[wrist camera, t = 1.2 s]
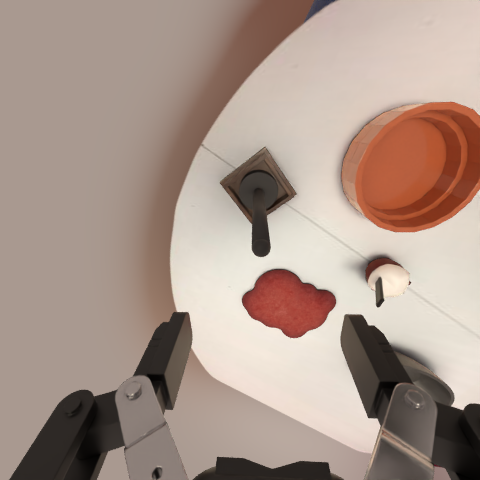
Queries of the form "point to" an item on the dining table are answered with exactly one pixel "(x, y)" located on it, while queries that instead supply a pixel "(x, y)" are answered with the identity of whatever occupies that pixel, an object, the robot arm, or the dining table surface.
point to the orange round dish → (414, 165)
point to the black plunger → (259, 206)
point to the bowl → (427, 380)
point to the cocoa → (386, 279)
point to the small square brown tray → (258, 162)
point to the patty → (288, 303)
